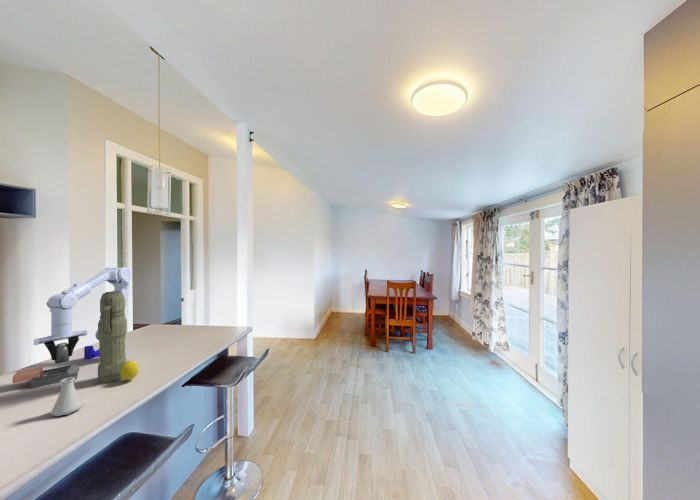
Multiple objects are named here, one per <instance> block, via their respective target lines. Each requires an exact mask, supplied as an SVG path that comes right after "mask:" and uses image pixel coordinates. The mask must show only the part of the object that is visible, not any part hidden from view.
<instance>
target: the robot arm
mask: <svg viewBox="0 0 700 500" xmlns="http://www.w3.org/2000/svg"><path fill="white" fill-rule="evenodd" d="M132 274H133V272H131V270H130V268H128V267H109V266H108V267H105V268H103V269H101V270H100V271H99V272H98V273H97V274H96V275H94V276H93V277H92V278H90V279H88V280H87V281H85V282H76V283H74V284H73V286H71V287H69V288H68V289H65V290H62V291H61V293H59V294H58V293H56V294H53V295H51V297H49V298H48V300H47V302H46V306H47V308H49V312H50V314H51V315H50V316H51V318H50V321H51V325H50V330H51V331H50V335H48V336H44V337H43V336H42V337H40V338H34V339H33V345H34V346H38V345H41V344H43V345H44V346H45V347H46V349H47V350H48V352H49V355H50V358H51V361H55V346H56V343H55V342H57V341H63V340H67V344H69V358H70V357H72V356H73V352H74V349H75V347H76V346H77V344H78V342H79V340H80V338H79V337H85V336H88V330H86V329H85V330H78V331H77V330H76V331H73V308H74V307H75V306H76V304H77V302H78V301H79V300H81V299H82V298H83V297H85V296H87V295H89V294H90V293H91V290H92V289H93V288H95V287H97V286H99V285H101V284H102V283H105V282H107V283H109V284H111V285H112V286H113V287H114V290H113V291H120V292H123V295H124V297H125V303H126V302H127V301H126V300H127V297H128V294H129V289H130V286H131V279H132ZM95 339H96V340H97V341H98V343H100V339H99V338H98V329H97V330H96V332H95ZM126 342H127V341H126V338H125V357H126V355H127V348H126V345H127V344H126ZM98 358H99V360H98V364H99V363H100V357H98ZM126 358H127V357H126Z"/></svg>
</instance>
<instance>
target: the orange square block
mask: <svg viewBox="0 0 700 500" xmlns="http://www.w3.org/2000/svg"><path fill="white" fill-rule="evenodd" d="M43 370H44V367H43V365H41V366H36V367H31V368H24V369H20V370H17V371H16V372H15V373H14V375H13V376H12V384H18V383H22V382H27V381H32V378H37V377H40V376H41V375H42V373H43Z"/></svg>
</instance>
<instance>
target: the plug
mask: <svg viewBox="0 0 700 500" xmlns="http://www.w3.org/2000/svg"><path fill="white" fill-rule="evenodd" d="M69 361H70V357H69V344H68V342H60V343H57V344H55V360H54V364H63V363H66V362H69Z"/></svg>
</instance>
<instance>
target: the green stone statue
mask: <svg viewBox="0 0 700 500" xmlns="http://www.w3.org/2000/svg"><path fill="white" fill-rule="evenodd" d="M125 310H126V302H125V297H124V295H123V292H120V291H114V290H113V291H111V290H110V291H105V292H104V293H102V295H101V297H100V299H99V313H100V316H99V320H98V323H97V330H98V338H99V339H100V342H99V348H100V356H99V358H100V363H99V362H98V365H97V377H98V380H97V382H98V384H101V385H102V384H111V383H116V382H118V381H121V380H124V379H123V378H122V377H121V374H120V371H121V368H122V366H123V365H124V364H125V363H126V362H128V359H127V357H125V339H126V335H127V333H128V320H127V318H126V313H125Z"/></svg>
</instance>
